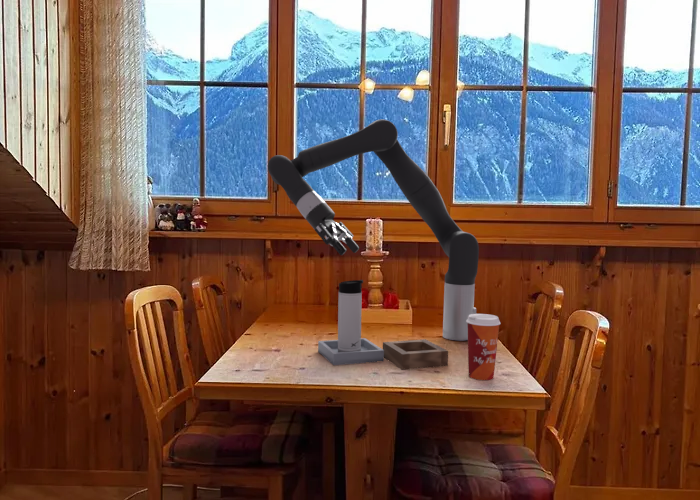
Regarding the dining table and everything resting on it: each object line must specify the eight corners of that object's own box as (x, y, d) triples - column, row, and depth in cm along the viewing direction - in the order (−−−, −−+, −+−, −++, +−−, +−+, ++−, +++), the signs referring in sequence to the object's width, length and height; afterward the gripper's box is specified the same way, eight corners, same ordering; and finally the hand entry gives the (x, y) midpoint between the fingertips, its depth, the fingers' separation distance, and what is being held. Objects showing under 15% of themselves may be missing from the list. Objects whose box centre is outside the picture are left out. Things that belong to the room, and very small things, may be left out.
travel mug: (359, 356, 159) (360, 281, 157) (335, 354, 160) (336, 280, 159) (363, 350, 165) (365, 278, 163) (340, 348, 166) (341, 277, 165)
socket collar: (425, 353, 167) (425, 339, 167) (447, 366, 155) (448, 350, 155) (382, 356, 163) (382, 342, 163) (402, 369, 151) (402, 354, 150)
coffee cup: (478, 383, 141) (481, 321, 140) (457, 374, 148) (459, 314, 147) (505, 379, 145) (508, 318, 143) (483, 370, 152) (486, 312, 151)
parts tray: (364, 348, 171) (365, 338, 171) (383, 361, 158) (384, 350, 158) (318, 351, 167) (318, 341, 167) (333, 365, 154) (333, 353, 153)
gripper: (311, 201, 165) (348, 244, 161) (334, 201, 178) (369, 241, 174) (294, 220, 168) (330, 263, 164) (318, 218, 181) (352, 258, 177)
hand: (350, 251), depth 169 cm, fingers open, 8 cm apart
